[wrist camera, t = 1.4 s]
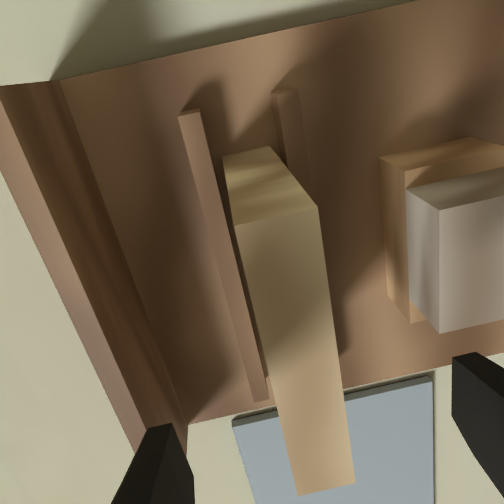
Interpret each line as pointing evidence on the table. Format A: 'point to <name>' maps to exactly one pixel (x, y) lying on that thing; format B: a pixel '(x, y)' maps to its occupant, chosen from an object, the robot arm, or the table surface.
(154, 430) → the robot arm
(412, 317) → the block
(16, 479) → the table surface
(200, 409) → the walnut rack
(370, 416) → the slate mat
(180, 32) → the table surface
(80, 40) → the table surface
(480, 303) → the upper offcut
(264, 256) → the plywood sheet
